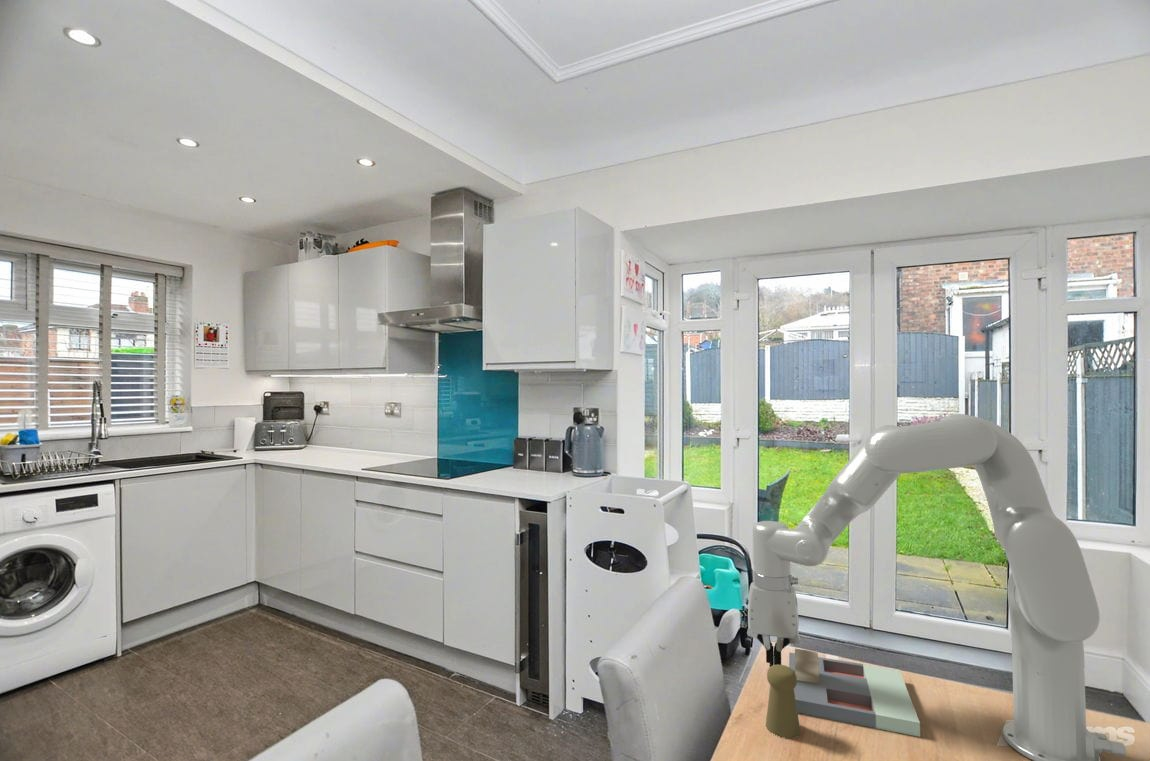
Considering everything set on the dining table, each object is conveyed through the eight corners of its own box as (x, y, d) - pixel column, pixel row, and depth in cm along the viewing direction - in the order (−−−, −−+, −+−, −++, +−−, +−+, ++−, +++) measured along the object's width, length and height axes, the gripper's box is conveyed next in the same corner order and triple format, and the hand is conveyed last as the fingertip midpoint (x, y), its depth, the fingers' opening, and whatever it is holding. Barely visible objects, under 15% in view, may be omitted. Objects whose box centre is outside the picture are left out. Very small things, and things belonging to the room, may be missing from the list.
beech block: (818, 673, 115) (817, 651, 115) (819, 684, 111) (818, 661, 111) (795, 669, 117) (794, 648, 117) (795, 679, 112) (794, 658, 112)
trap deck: (899, 681, 116) (899, 669, 116) (920, 736, 97) (919, 722, 97) (789, 663, 124) (789, 652, 124) (788, 711, 106) (788, 698, 106)
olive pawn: (803, 740, 97) (802, 678, 97) (768, 736, 98) (766, 674, 98) (796, 720, 103) (795, 661, 103) (763, 716, 104) (762, 658, 104)
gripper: (809, 579, 117) (811, 664, 117) (737, 571, 123) (739, 653, 122) (810, 590, 110) (812, 682, 110) (734, 582, 116) (736, 668, 115)
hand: (773, 666), depth 116 cm, fingers closed
